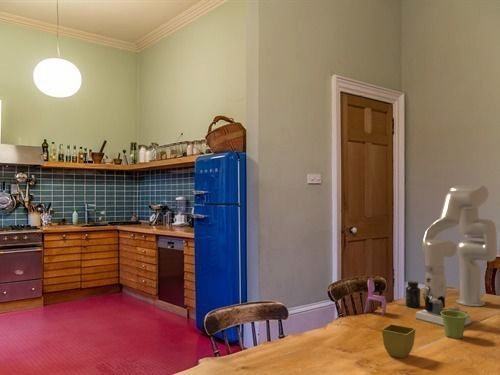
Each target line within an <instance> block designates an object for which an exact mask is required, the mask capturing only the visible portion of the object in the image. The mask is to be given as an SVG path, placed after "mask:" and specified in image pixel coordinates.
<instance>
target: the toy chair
mask: <svg viewBox="0 0 500 375" xmlns="http://www.w3.org/2000/svg"><path fill="white" fill-rule="evenodd" d="M375 289H376V288H375V282H374V281H373V280H372V279H367V291H368V297H367V298H366V300H365V301H366V302H365V308H364V312H363V314H365V313H366V312H368V311H369V309H370V302H371V301H377V302H381V305H382V310H381V311H382V312H381V315H382V316H383V315H384V314H386V311H387V299H386V296H385V295H375V294H374V293H373V292H374V291H375Z"/></svg>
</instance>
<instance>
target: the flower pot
mask: <svg viewBox="0 0 500 375" xmlns="http://www.w3.org/2000/svg"><path fill="white" fill-rule="evenodd" d="M381 333H382V334H381V335H382V341H383V346H384V349H385V350H386V353H387V354H388V356H391V357H395V358H399V359H406V357H408V356H409V355H410V353H411V352H412V349H413V347H414V345H415V337H416V328H414V327H410V326H405V325H404V326H403V325H399V324H393V323H390V324H388V325H386V326H385V327H383V328H382V329H381Z"/></svg>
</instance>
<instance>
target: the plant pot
mask: <svg viewBox="0 0 500 375" xmlns="http://www.w3.org/2000/svg"><path fill="white" fill-rule="evenodd" d="M441 315H442V318H443V323H444V326H443V328H444V335H445V336H446V337H449V338H451V339H457V340H458V339H459V340H460V339H463V336H464V330H465V326H464V325H465V321H466V318H467V316H468V313H467V314H465V313H462V312H458V311H442V312H441Z"/></svg>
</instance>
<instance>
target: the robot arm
mask: <svg viewBox="0 0 500 375" xmlns="http://www.w3.org/2000/svg"><path fill="white" fill-rule="evenodd" d="M488 199H489V190H488V188H487V187H486V186H485V185H481V184H475V185H474V184H473V185H472V184H471V185H468V184H467V185H466V184H465V185H454V186H451V187H450V188H449V190H448V192H447V193H446V194H445V197H444V201H443V203H442V204H443V205H442V208H441V211H440V216H439V218H438V219H437V220H434V222H432V224H431V225H430V226H429V227H427V229H426V230H425V232H424V235H423V239H422V244H421V249H422V251H423V254H424V255H425V256H424V257H425V261H424V262H425V276H424V277H425V279H424V290H423V291H422V295H423V297H422V298H423V301H424V310H427V311H431V312H432V311H433V302H432V299H436V298H437V300H441V302H442V303H443V309H444V308H445V309H446V294H447V289H448V288H447V282H446V275H445V258H451V257H453V256H455V255H456V253H457V255H458V260H459V262H458V263H459V298H457V299H456V303H457V304H459V305H463V306H467V307H484V306H485V305H486V303H485V301H483V300H482V298H485V295H484V294H483V293H482V268H481V265H479V263H478V261H481V262H494V261H495V260H496V258H497V256H498V244H497V227H496V224H495V222H494V221H493V220H492V219H484V218H482V219H481V218H480V217H479V209H478V208H479V207H481V206H482V205H484V204H485V203H486V202H487V200H488ZM458 225H459V232H460V235H461V237H463V238H469V239H464V240H460V242H459V241H458V244H457V245H456V243H455V242H454V241H452V240H447V239H438V238H436V236H437V235H439V233H442V232H444V231H446V230H450V229H451V228H452V229H453V228H454V227H457V226H458ZM470 239H471V240H470ZM473 239H480V240H473ZM481 239H482V240H481Z"/></svg>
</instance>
